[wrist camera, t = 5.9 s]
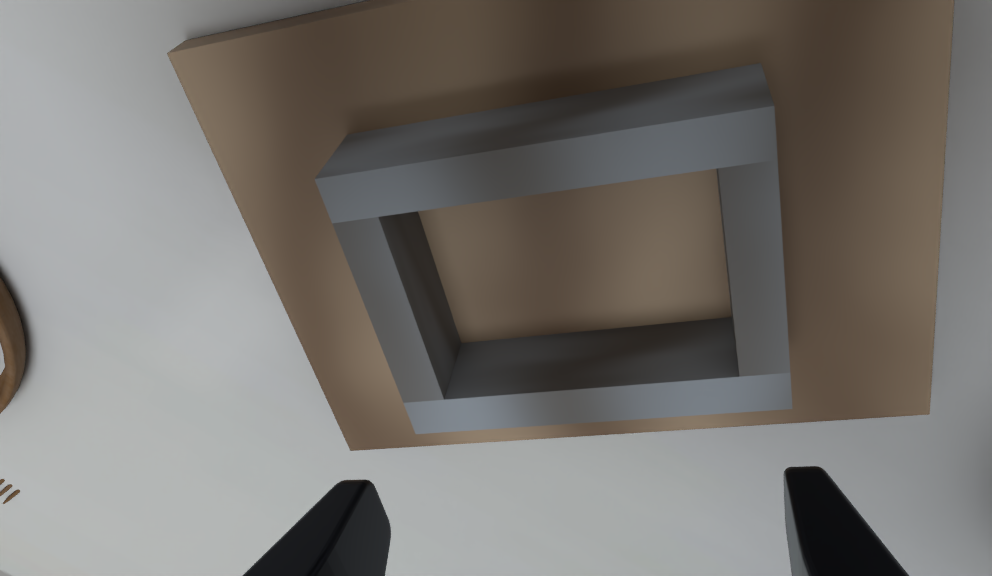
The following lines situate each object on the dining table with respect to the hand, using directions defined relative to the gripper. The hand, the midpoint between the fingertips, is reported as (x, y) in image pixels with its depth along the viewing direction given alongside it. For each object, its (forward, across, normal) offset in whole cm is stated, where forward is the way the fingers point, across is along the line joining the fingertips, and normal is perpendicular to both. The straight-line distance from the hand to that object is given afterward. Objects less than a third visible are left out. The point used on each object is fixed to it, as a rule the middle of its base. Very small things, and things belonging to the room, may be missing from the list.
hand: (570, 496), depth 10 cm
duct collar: (+13, +2, +3) cm, 13 cm away
